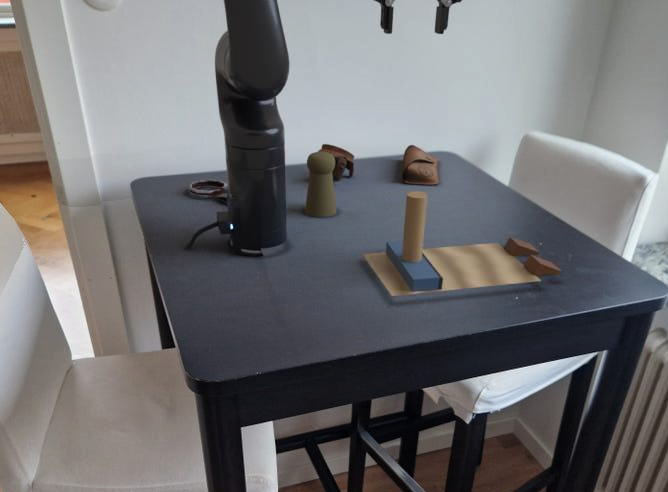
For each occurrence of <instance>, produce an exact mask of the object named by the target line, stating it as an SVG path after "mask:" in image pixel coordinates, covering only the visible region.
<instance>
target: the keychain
mask: <svg viewBox="0 0 668 492" xmlns="http://www.w3.org/2000/svg"><path fill="white" fill-rule="evenodd" d="M227 186H228V183H227V182H224V181H222V180H219V179H202V180H201V179H200V180H196V181H194V182H191V183H189V185H188V193H189V194H190V195H192V196H193V197H196V198H198V197H199V198H206V199H207V198H215V199H217V200H219V202H222V203H224V204H227V192H226V187H227ZM206 187H214V188H218V189H212V190H205V189H204V190H202V189H199V188H206Z"/></svg>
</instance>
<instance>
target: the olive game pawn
mask: <svg viewBox="0 0 668 492" xmlns="http://www.w3.org/2000/svg"><path fill="white" fill-rule="evenodd" d="M306 167H307V169H308V172H309V171H310V175H309V174H308V185H307V193H306V201H305V207H304V213H305V214H306V215H307V216H310V217H315V218H328V217H332V216H335V215H336V214H337V202H336V195H335V185H334V181H333V176H332V171H333V170H334V167H335V158H334V157H333V155H332V154H330V153H327V152H318V151H316V152H315V151H314V152H311V153H310V154H309V155H308V157H307V159H306Z"/></svg>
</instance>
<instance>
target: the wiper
mask: <svg viewBox="0 0 668 492" xmlns="http://www.w3.org/2000/svg"><path fill="white" fill-rule="evenodd" d="M405 199H406V200H405V211H404V212H405V213H404V224H403V236H402V240H393V241H386V245H385V247H386V248H385V252H386V254H387V255H388V257H389V258H390V260H391V261H392V263H393V264H394V266H395V267H396V269H397V270H398V272H399V273H400V274H401V276H402V277H403V279H404V280H405V282H406V283H407V285H408V286H409V288H410V289H411V291H412V292H413V291H426V290H438V289H442V283H443V278H442V276H441V275H440V274H439V273H438V271H437V270H436V269H435V268H434V266H433V265H432V264H431V262H430V261H429V260H428V259H427V257H426V256H425V255H424V254H423V252H422V249H424V248H423V247H424V237H425V226H426V215H427V205H428V193H425V192H423V191H416V190H412V191H409V192H407V193H406V198H405Z"/></svg>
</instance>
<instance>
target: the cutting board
mask: <svg viewBox="0 0 668 492" xmlns="http://www.w3.org/2000/svg"><path fill="white" fill-rule="evenodd" d="M422 252H423V254H424V255H425V256H426V257H427V259H428V260H429V261H430V262H431V264H432V265H433V266H434V268H435V269H436V270H437V271H438V273H439V274H440V275H441V276H442V278H443V283H442V289H438V290H426V291H413V292H412V291H411V289H410V288H409V286H408V285H407V283H406V282H405V280H404V279H403V277H402V276H401V274H400V273H399V272H398V270H397V269H396V267H395V266H394V264H393V263H392V261H391V260H390V258H389V257H388V255H387V254H386V251H383V252H372V253H362V254H361V255H362V257H363V258H364V259H365V261H366V262H367V264H368V265H369V266H370V268H371V269H372V271H373V272H374V273H375V275H376V277H378V279H379V280H380V282H381V283H382V285H383V286H384V287H385V288H386V289H387V292H388V293H389V294H390V296H391V297H395V296H396V297H397V296H406V295H416V294H424V293H425V294H426V293H435V292H436V293H437V292H445V291H456V290H464V289H474V288H485V287H494V286H495V287H496V286H503V285H504V286H505V285H513V284H523V283H534V282H541V281H542V280H541V279H540V278H539V276H536V275H534V274H532V273H531V272H530V271H529V270H528V269H527V268H526V267H525V266H524V265H525V264H523V263H521V261H519V260H518V259H517V257H516V256H513V255H511V254H510V253H509V252H508V251H507V250H506V249H505V248H504V247H503V246H502V245H501V244H499V243H498V242H490V243H489V242H488V243H479V244H478V243H477V244H467V245H455V246H443V247H432V248H431V247H430V248H422Z"/></svg>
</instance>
